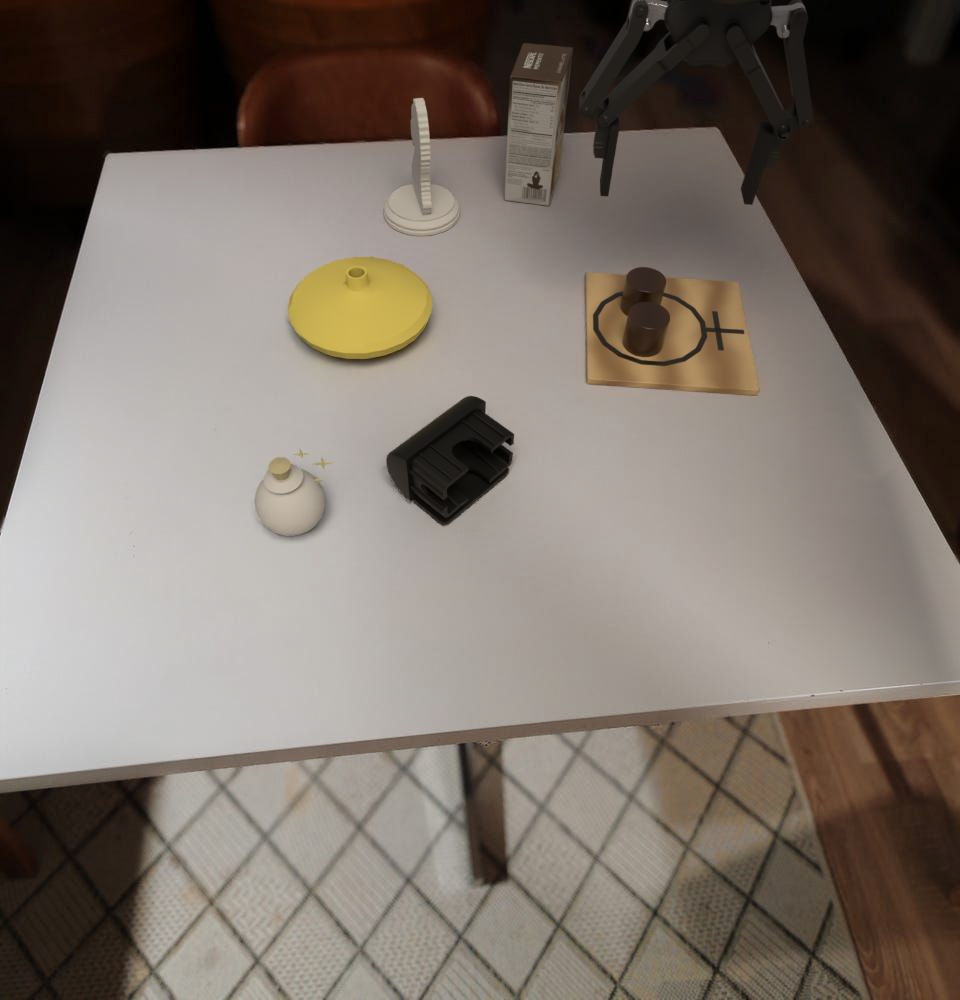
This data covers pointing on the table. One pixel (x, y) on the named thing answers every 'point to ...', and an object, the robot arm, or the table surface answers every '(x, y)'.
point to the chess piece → (421, 189)
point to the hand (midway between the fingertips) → (674, 193)
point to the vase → (360, 307)
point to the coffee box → (536, 122)
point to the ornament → (290, 498)
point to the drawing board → (672, 338)
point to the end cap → (452, 460)
